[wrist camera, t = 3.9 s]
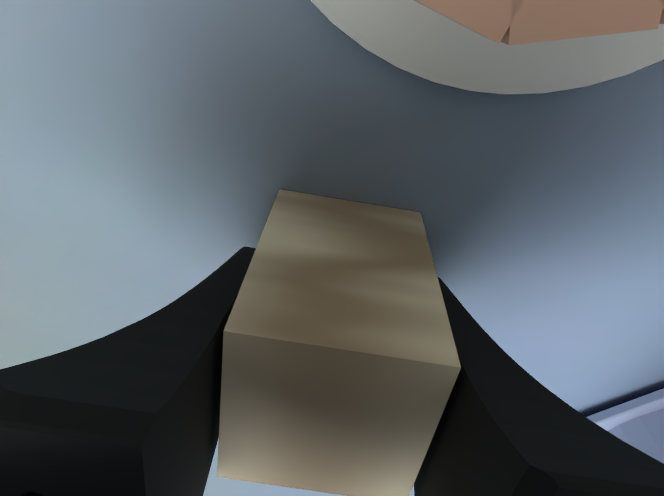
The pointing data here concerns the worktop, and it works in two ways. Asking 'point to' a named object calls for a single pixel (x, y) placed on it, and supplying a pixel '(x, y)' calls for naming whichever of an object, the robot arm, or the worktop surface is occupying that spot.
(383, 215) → the beige wooden block
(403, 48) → the collar dish
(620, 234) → the worktop surface
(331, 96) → the worktop surface
